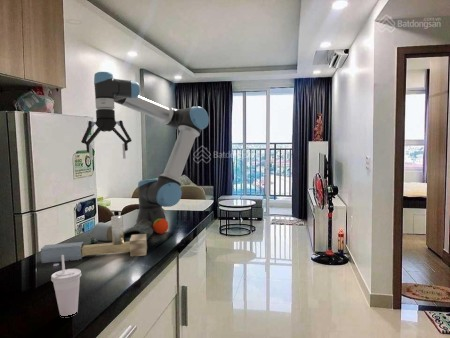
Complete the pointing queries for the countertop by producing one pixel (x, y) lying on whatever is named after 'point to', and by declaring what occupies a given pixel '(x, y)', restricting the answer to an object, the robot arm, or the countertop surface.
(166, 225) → the clementine
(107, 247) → the bar with upright post
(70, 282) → the smoothie
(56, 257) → the sleeve
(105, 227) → the ceramic mug
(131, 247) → the socket block
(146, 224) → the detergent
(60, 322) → the countertop surface
